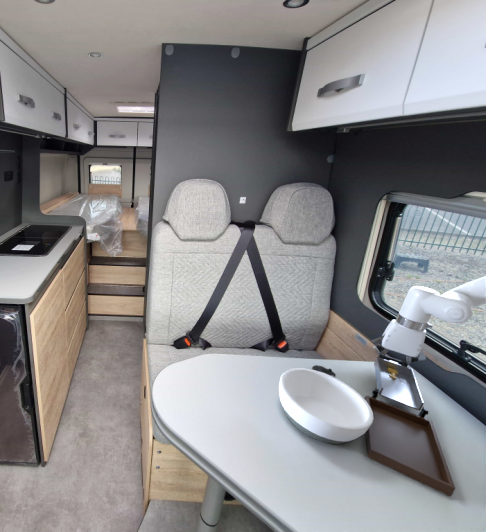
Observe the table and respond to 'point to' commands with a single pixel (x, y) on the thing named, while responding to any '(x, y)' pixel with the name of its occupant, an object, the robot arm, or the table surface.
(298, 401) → the bowl
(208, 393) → the table surface
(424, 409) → the stand
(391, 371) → the key
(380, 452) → the tray
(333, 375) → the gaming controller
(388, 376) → the shallow grey bin
